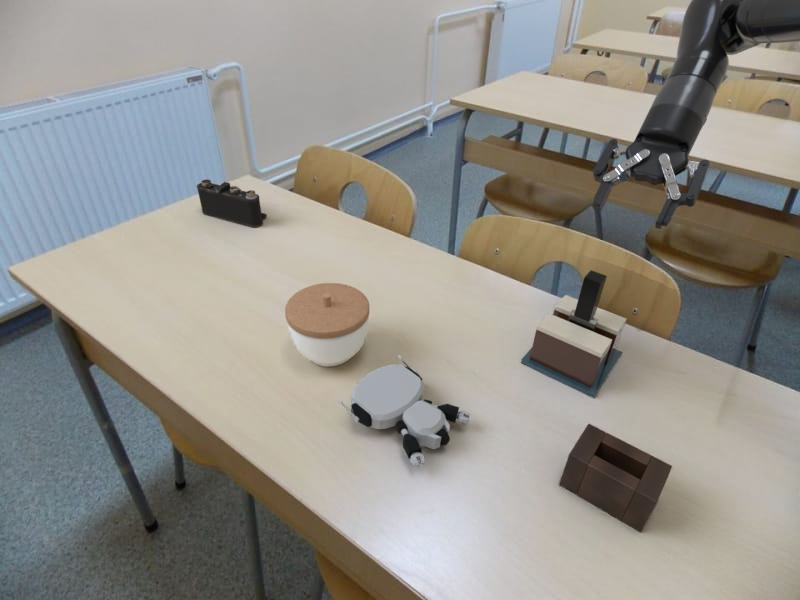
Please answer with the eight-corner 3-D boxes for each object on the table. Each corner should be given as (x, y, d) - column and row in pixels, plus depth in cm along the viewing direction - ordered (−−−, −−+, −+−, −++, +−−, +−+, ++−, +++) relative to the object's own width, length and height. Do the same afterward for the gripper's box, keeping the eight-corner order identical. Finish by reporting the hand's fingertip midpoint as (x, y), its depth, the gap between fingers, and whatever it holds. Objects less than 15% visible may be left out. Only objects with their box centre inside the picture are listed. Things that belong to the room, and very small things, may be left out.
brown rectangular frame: (656, 496, 63) (672, 465, 59) (640, 532, 59) (657, 502, 56) (577, 453, 68) (588, 422, 64) (558, 484, 64) (569, 454, 60)
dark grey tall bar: (587, 356, 82) (612, 277, 73) (581, 364, 81) (606, 285, 72) (564, 346, 84) (585, 268, 75) (557, 353, 83) (579, 274, 74)
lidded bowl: (300, 324, 88) (293, 270, 82) (373, 328, 88) (373, 274, 81) (282, 376, 78) (273, 319, 72) (365, 381, 78) (364, 324, 71)
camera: (273, 217, 120) (269, 185, 115) (255, 229, 115) (250, 196, 110) (217, 203, 126) (211, 171, 121) (198, 214, 121) (190, 181, 116)
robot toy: (472, 428, 72) (394, 370, 79) (478, 407, 69) (396, 349, 76) (414, 484, 64) (334, 414, 72) (418, 463, 62) (334, 393, 69)
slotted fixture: (621, 355, 84) (635, 318, 79) (594, 398, 76) (607, 359, 71) (552, 326, 90) (561, 290, 85) (520, 362, 82) (528, 325, 77)
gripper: (625, 92, 74) (576, 192, 74) (734, 112, 68) (681, 222, 67) (627, 121, 81) (582, 213, 80) (726, 142, 74) (678, 242, 73)
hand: (627, 217), depth 74 cm, fingers open, 8 cm apart
